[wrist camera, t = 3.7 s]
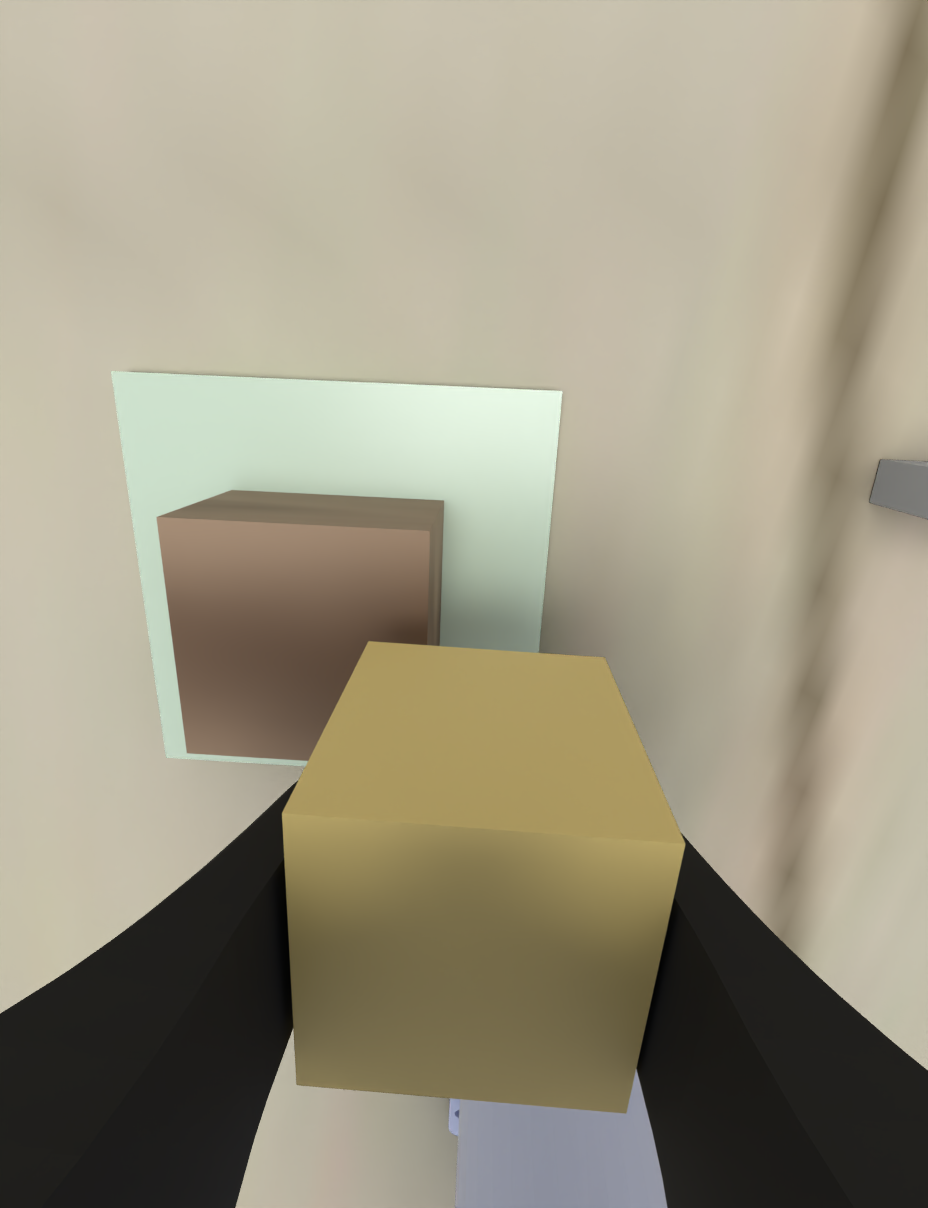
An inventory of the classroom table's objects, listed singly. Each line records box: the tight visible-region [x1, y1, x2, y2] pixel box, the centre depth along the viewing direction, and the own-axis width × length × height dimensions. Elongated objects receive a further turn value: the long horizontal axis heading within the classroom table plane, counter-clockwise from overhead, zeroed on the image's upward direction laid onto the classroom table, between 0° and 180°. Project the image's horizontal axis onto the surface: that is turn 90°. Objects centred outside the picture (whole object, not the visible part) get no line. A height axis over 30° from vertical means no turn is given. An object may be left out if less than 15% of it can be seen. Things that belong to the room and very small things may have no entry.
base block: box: [156, 490, 444, 761], centre depth 16 cm, size 6×6×4 cm
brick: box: [282, 641, 685, 1114], centre depth 10 cm, size 4×4×5 cm
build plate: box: [111, 371, 562, 766], centre depth 18 cm, size 12×12×1 cm
